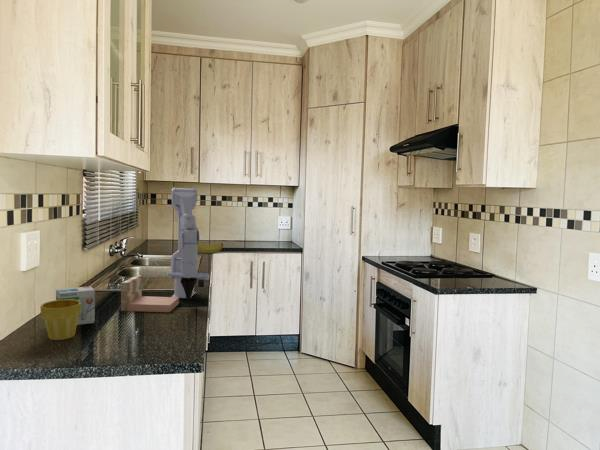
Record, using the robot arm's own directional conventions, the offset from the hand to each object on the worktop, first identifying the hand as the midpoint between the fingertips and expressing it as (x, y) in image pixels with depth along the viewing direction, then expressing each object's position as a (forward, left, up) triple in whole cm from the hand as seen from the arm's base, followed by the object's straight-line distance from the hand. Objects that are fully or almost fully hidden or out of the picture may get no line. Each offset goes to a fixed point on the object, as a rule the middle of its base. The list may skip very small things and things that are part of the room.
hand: (188, 298), depth 166 cm
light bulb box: (+23, -30, -4) cm, 38 cm away
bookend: (0, -21, -3) cm, 21 cm away
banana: (-144, -24, -4) cm, 146 cm away
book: (+1, -12, -4) cm, 13 cm away
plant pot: (+37, -27, -4) cm, 46 cm away
